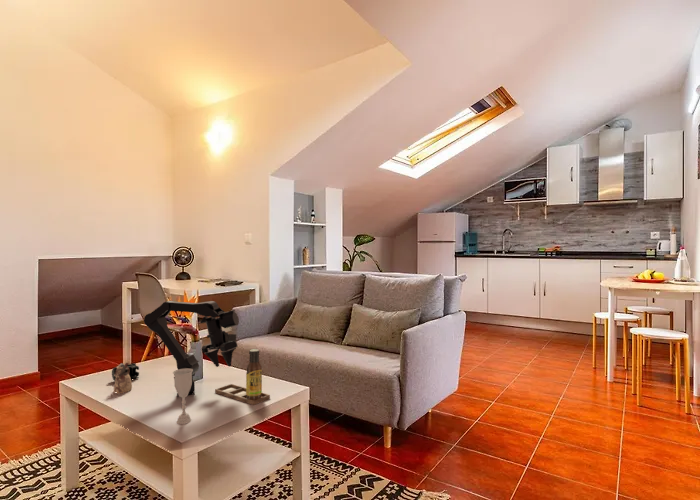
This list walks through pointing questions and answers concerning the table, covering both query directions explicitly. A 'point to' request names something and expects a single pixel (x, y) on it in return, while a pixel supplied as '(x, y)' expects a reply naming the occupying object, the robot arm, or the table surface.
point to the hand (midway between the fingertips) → (223, 366)
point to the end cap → (132, 373)
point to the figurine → (122, 379)
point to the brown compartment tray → (239, 394)
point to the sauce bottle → (254, 376)
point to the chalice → (183, 390)
